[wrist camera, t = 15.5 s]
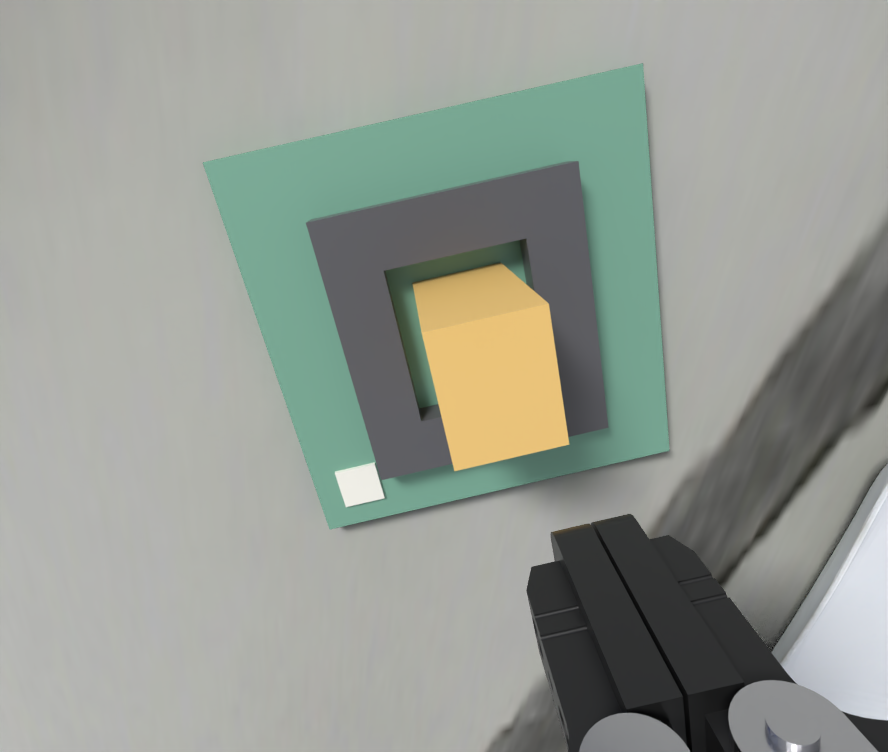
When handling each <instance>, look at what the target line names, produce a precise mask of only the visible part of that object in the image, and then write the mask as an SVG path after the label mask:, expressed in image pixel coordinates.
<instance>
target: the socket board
mask: <svg viewBox="0 0 888 752" xmlns="http://www.w3.org/2000/svg"><path fill="white" fill-rule="evenodd" d="M203 165H204V168H205V171H206V174H207V176H208V179H209V182H210V185H211V188H212V191H213V194H214V197H215V200H216V202H217V205H218V208H219V211H220V214H221V217H222V220H223V223H224V226H225V228H226V231H227V234H228V237H229V240H230V243H231V246H232V249H233V252H234V254H235V257H236V260H237V263H238V266H239V269H240V272H241V275H242V278H243V280H244V283H245V286H246V289H247V292H248V295H249V298H250V301H251V304H252V306H253V309H254V312H255V315H256V318H257V321H258V324H259V327H260V330H261V332H262V335H263V338H264V341H265V344H266V347H267V350H268V353H269V356H270V358H271V361H272V364H273V367H274V370H275V373H276V376H277V379H278V382H279V384H280V387H281V390H282V393H283V396H284V399H285V402H286V405H287V408H288V410H289V413H290V416H291V419H292V422H293V425H294V428H295V431H296V434H297V436H298V439H299V442H300V445H301V448H302V451H303V454H304V457H305V459H306V462H307V465H308V468H309V471H310V474H311V477H312V480H313V483H314V485H315V488H316V491H317V494H318V497H319V500H320V503H321V506H322V509H323V511H324V514H325V517H326V520H327V523H328V526H329V529H334V528H338V527H343V526H347V525H351V524H356V523H360V522H364V521H368V520H373V519H377V518H381V517H386V516H390V515H394V514H399V513H403V512H407V511H412V510H416V509H420V508H424V507H429V506H433V505H437V504H442V503H446V502H450V501H455V500H459V499H463V498H468V497H472V496H476V495H481V494H485V493H489V492H493V491H498V490H502V489H506V488H511V487H515V486H519V485H524V484H528V483H532V482H537V481H541V480H545V479H550V478H554V477H558V476H562V475H567V474H571V473H575V472H580V471H584V470H588V469H593V468H597V467H601V466H606V465H610V464H614V463H618V462H623V461H627V460H631V459H636V458H640V457H644V456H649V455H653V454H657V453H662V452H666V451H669V438H668V423H667V408H666V394H665V379H664V364H663V350H662V335H661V321H660V306H659V291H658V277H657V262H656V247H655V233H654V218H653V203H652V189H651V174H650V160H649V145H648V130H647V116H646V101H645V86H644V72H643V63H642V64H638V65H633V66H629V67H624V68H620V69H616V70H611V71H607V72H602V73H598V74H593V75H589V76H585V77H580V78H576V79H571V80H567V81H562V82H558V83H553V84H549V85H545V86H540V87H536V88H531V89H527V90H522V91H518V92H514V93H509V94H505V95H500V96H496V97H491V98H487V99H482V100H478V101H474V102H469V103H465V104H460V105H456V106H451V107H447V108H443V109H438V110H434V111H429V112H425V113H420V114H416V115H412V116H407V117H403V118H398V119H394V120H389V121H385V122H380V123H376V124H372V125H367V126H363V127H358V128H354V129H349V130H345V131H341V132H336V133H332V134H327V135H323V136H318V137H314V138H309V139H305V140H301V141H296V142H292V143H287V144H283V145H278V146H274V147H270V148H265V149H261V150H256V151H252V152H247V153H243V154H238V155H234V156H230V157H225V158H221V159H216V160H212V161H207V162H203ZM500 262H501V263H502V264H503V265H504V266H506V267H507V268H508V269H509V270H510V271H511V272H513V273H514V274H515V275H516V276H517V277H518V278H520V279H521V280H522V281H523V282H524V283H525V284H527V285H528V286H529V287H530V288H531V289H532V290H534V291H535V292H536V293H537V294H538V295H539V296H541V297H542V298H543V299H544V300H545V301H546V302H547V303H549V308H550V315H551V322H552V329H553V336H554V343H555V350H556V357H557V363H558V370H559V377H560V384H561V391H562V398H563V405H564V412H565V418H566V425H567V432H568V439H569V445H565V446H561V447H557V448H552V449H548V450H544V451H540V452H535V453H531V454H527V455H522V456H518V457H514V458H510V459H505V460H501V461H497V462H492V463H488V464H484V465H480V466H475V467H471V468H467V469H462V470H458V471H454V467H453V463H452V459H451V455H450V450H449V446H448V442H447V438H446V434H445V429H444V425H443V421H442V417H441V412H440V408H439V404H438V400H437V396H436V391H435V387H434V383H433V379H432V374H431V370H430V366H429V362H428V358H427V353H426V349H425V345H424V341H423V336H422V332H421V327H420V321H419V316H418V310H417V305H416V300H415V294H414V289H413V282H417V281H422V280H426V279H430V278H435V277H439V276H443V275H448V274H452V273H456V272H461V271H465V270H469V269H474V268H478V267H482V266H487V265H491V264H496V263H500Z"/></svg>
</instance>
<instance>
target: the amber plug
mask: <svg viewBox="0 0 888 752" xmlns="http://www.w3.org/2000/svg"><path fill="white" fill-rule="evenodd" d="M413 289H414V294H415V300H416V305H417V310H418V316H419V321H420V327H421V332H422V336H423V341H424V345H425V349H426V353H427V358H428V362H429V366H430V370H431V374H432V379H433V383H434V387H435V391H436V396H437V400H438V404H439V408H440V412H441V417H442V421H443V425H444V429H445V434H446V438H447V442H448V446H449V450H450V455H451V459H452V463H453V467H454V471H458V470H462V469H467V468H471V467H475V466H480V465H484V464H488V463H492V462H497V461H501V460H505V459H510V458H514V457H518V456H522V455H527V454H531V453H535V452H540V451H544V450H548V449H552V448H557V447H561V446H565V445H569V439H568V432H567V425H566V418H565V412H564V405H563V398H562V391H561V384H560V377H559V370H558V363H557V357H556V350H555V343H554V336H553V329H552V322H551V315H550V308H549V303H547V302H546V301H545V300H544V299H543V298H542V297H541V296H539V295H538V294H537V293H536V292H535V291H534V290H532V289H531V288H530V287H529V286H528V285H527V284H525V283H524V282H523V281H522V280H521V279H520V278H518V277H517V276H516V275H515V274H514V273H513V272H511V271H510V270H509V269H508V268H507V267H506V266H504V265H503V264H502V263H501V262H500V263H496V264H491V265H487V266H482V267H478V268H474V269H469V270H465V271H461V272H456V273H452V274H448V275H443V276H439V277H435V278H430V279H426V280H422V281H417V282H413Z"/></svg>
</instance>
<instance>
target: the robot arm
mask: <svg viewBox="0 0 888 752" xmlns="http://www.w3.org/2000/svg"><path fill="white" fill-rule="evenodd" d="M551 542H552V548H553V553H554V559H555V562H551V563H547V564H542V565H538V566H534V567H531V572H530V577H529V581H528V586H527V595H528V600H529V605H530V610H531V614H532V619H533V624H534V629H535V634H536V638H537V643H538V648H539V653H540V656H541V659H542V663H543V666H544V670H545V673H546V677H547V680H548V684H549V687H550V691H551V694H552V698H553V701H554V704H555V708H556V711H557V715H558V718H559V722H560V725H561V729H562V732H563V736H564V739H565V743H566V746H567V750H568V752H888V720H878V719H871V718H864V717H860V716H856V715H852V714H848V713H846V712H843V711H840V710H839V709H838V708H837V707H836V706H835V705H834V704H833V703H831V702H830V701H829V700H827V699H826V698H825V697H823V696H821V695H820V694H818V693H816V692H814V691H812V690H810V689H808V688H806V687H803V686H800V685H798V684H797V683H796V682H795V681H794V680H793V679H792V678H791V677H790V676H789V675H788V674H787V672H786V671H785V670H784V668H783V667H782V666H781V665H780V663H779V662H778V661H777V659H776V658H775V657H774V655H773V654H772V653H771V651H770V650H769V649H768V648H767V646H766V645H765V644H764V642H763V641H762V640H761V638H760V637H759V636H758V634H757V633H756V632H755V630H754V629H753V628H752V627H751V625H750V624H749V623H748V621H747V620H746V619H745V617H744V616H743V615H742V613H741V612H740V611H739V610H738V608H737V607H736V606H735V604H734V603H733V602H732V600H731V599H730V598H727V596H726V592H725V591H724V590H723V589H722V587H721V586H720V585H719V583H718V582H717V581H716V579H715V578H714V579H713V578H712V575H711V573H710V572H709V570H708V569H707V568H706V566H705V565H704V564H703V562H702V561H701V560H700V558H699V557H698V556H697V554H696V553H695V552H694V551H693V550H691V549H689V548H688V547H686V546H685V545H683V544H682V543H680V542H678V541H677V540H675V539H674V538H672V537H671V536H669V535H667V536H663V537H659V538H654V539H650V540H649V538H648V537H647V535H646V534H645V532H644V531H643V529H642V528H641V526H640V525H639V523H638V522H637V520H636V519H635V518H634V516H633V515H631V514H627V515H623V516H618V517H614V518H610V519H605V520H601V521H597V522H592V523H591V525H590V524H584V525H580V526H576V527H571V528H567V529H563V530H558V531H554V532H551Z"/></svg>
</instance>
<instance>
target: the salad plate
mask: <svg viewBox="0 0 888 752" xmlns="http://www.w3.org/2000/svg"><path fill="white" fill-rule="evenodd" d="M771 653H772V654H773V655H774V657H775V658H776V659H777V661H778V662H779V663H780V665H781V666H782V667H783V668H784V670H785V671H786V672H787V674H788V675H789V676H790V677H791V678H792V679H793V680H794V681H795V682H796V683H797V684H798V685H800V686H803V687H806V688H808V689H810V690H812V691H814V692H816V693H818V694H820V695H821V696H823V697H825V698H826V699H827V700H829V701H830V702H831V703H833V704H834V705H835V706H836V707H837V708H838V709H839V710H840V711H843V712H846V713H848V714H852V715H856V716H860V717H864V718H871V719H878V720H888V463H887V465H886V466H885V467H884V468H883V469H882V470H881V472H880V473H879V475H878V476H877V478H876V479H875V481H874V483H873V484H872V486H871V487H870V489H869V491H868V493H867V495H866V496H865V498H864V500H863V502H862V504H861V506H860V507H859V509H858V511H857V513H856V515H855V517H854V518H853V520H852V522H851V523H850V525H849V527H848V529H847V530H846V532H845V534H844V536H843V537H842V539H841V541H840V542H839V544H838V545H837V547H836V549H835V550H834V552H833V554H832V555H831V557H830V559H829V560H828V562H827V564H826V565H825V567H824V569H823V570H822V572H821V574H820V575H819V577H818V579H817V581H816V582H815V584H814V586H813V587H812V589H811V590H810V592H809V594H808V595H807V597H806V599H805V600H804V602H803V603H802V605H801V607H800V608H799V610H798V612H797V613H796V615H795V616H794V618H793V620H792V621H791V623H790V624H789V626H788V627H787V629H786V630H785V632H784V634H783V635H782V637H781V638H780V640H779V641H778V643H777V645H776V646H775V648H774V649H773V651H772V652H771Z"/></svg>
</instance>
